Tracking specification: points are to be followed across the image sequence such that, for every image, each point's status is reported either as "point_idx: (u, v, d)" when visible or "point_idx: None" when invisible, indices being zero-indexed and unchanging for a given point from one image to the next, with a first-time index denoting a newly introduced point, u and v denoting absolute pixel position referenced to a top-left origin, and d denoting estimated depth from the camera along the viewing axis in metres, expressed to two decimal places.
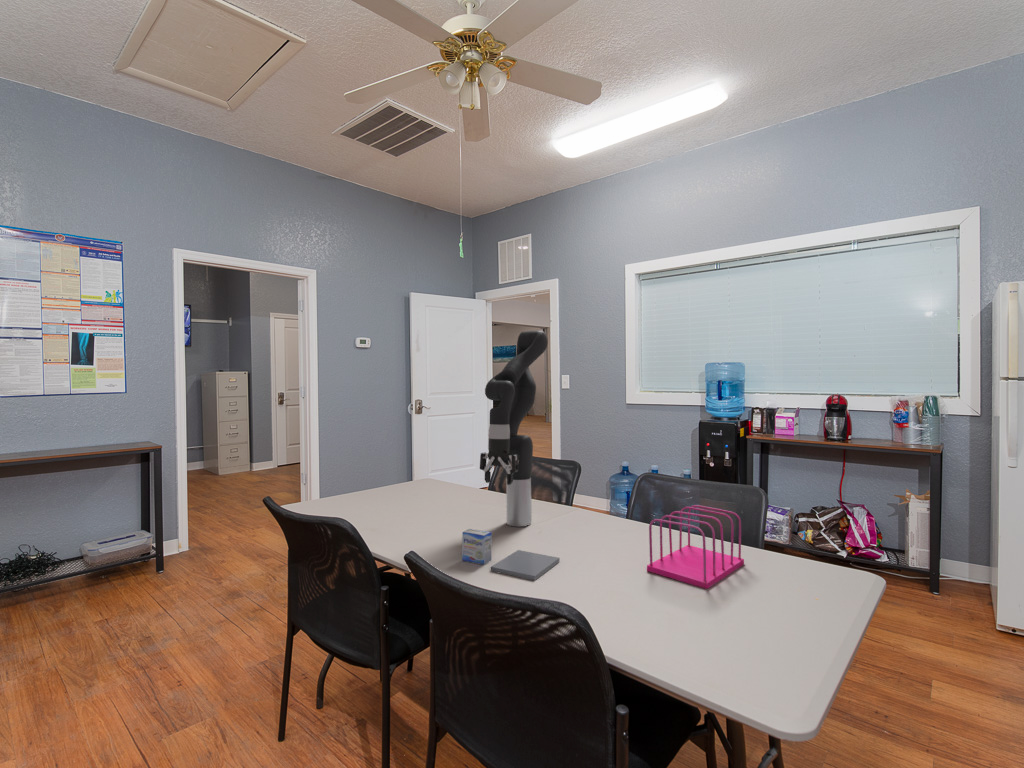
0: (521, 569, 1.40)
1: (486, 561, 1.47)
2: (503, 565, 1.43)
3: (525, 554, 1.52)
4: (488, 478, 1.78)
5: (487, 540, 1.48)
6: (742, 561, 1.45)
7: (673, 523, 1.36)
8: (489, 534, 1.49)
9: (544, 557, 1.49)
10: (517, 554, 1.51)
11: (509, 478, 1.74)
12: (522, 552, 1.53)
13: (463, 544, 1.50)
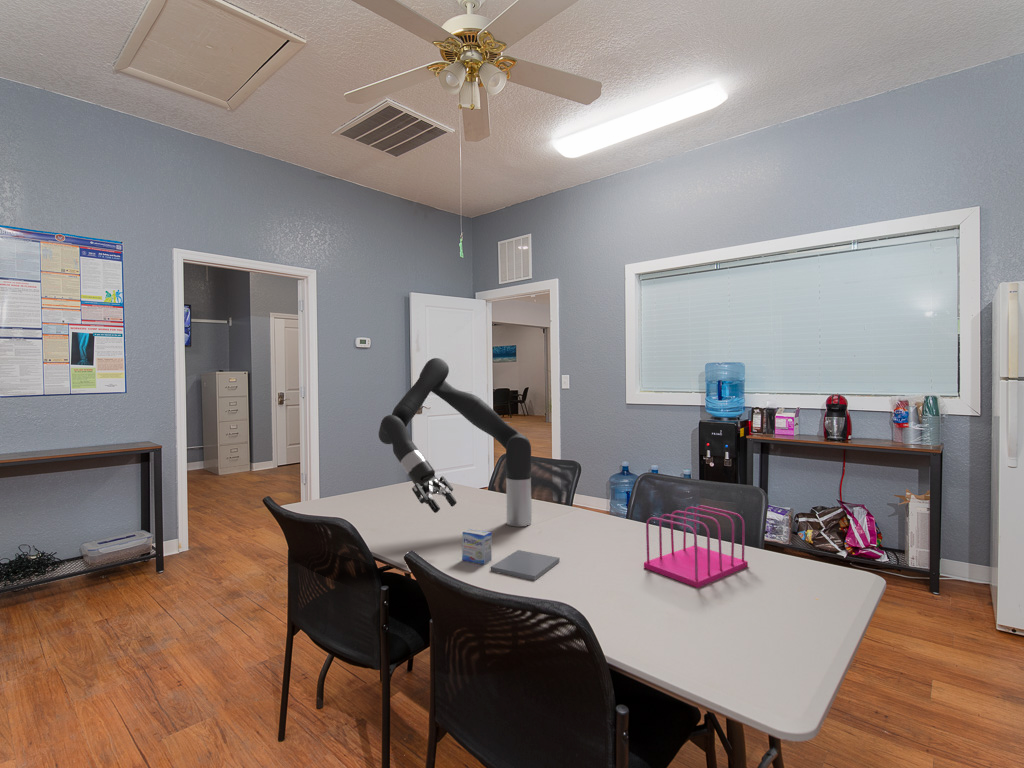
0: (521, 569, 1.40)
1: (486, 561, 1.47)
2: (503, 565, 1.43)
3: (525, 554, 1.52)
4: None
5: (487, 540, 1.48)
6: (745, 563, 1.44)
7: (667, 521, 1.37)
8: (489, 534, 1.49)
9: (544, 557, 1.49)
10: (517, 554, 1.51)
11: None
12: (522, 552, 1.53)
13: (463, 544, 1.50)
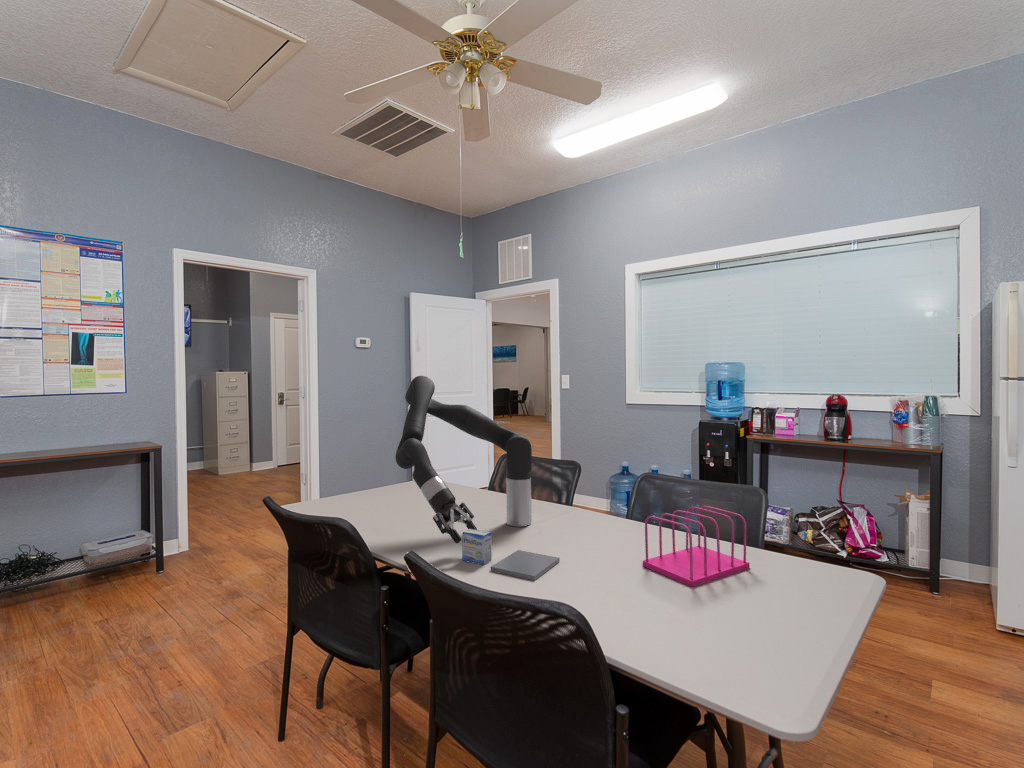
0: (521, 569, 1.40)
1: (486, 561, 1.47)
2: (503, 565, 1.43)
3: (525, 554, 1.52)
4: None
5: (487, 540, 1.48)
6: (746, 565, 1.42)
7: (664, 520, 1.38)
8: (489, 534, 1.49)
9: (544, 557, 1.49)
10: (517, 554, 1.51)
11: (473, 525, 1.56)
12: (522, 552, 1.53)
13: (463, 544, 1.50)
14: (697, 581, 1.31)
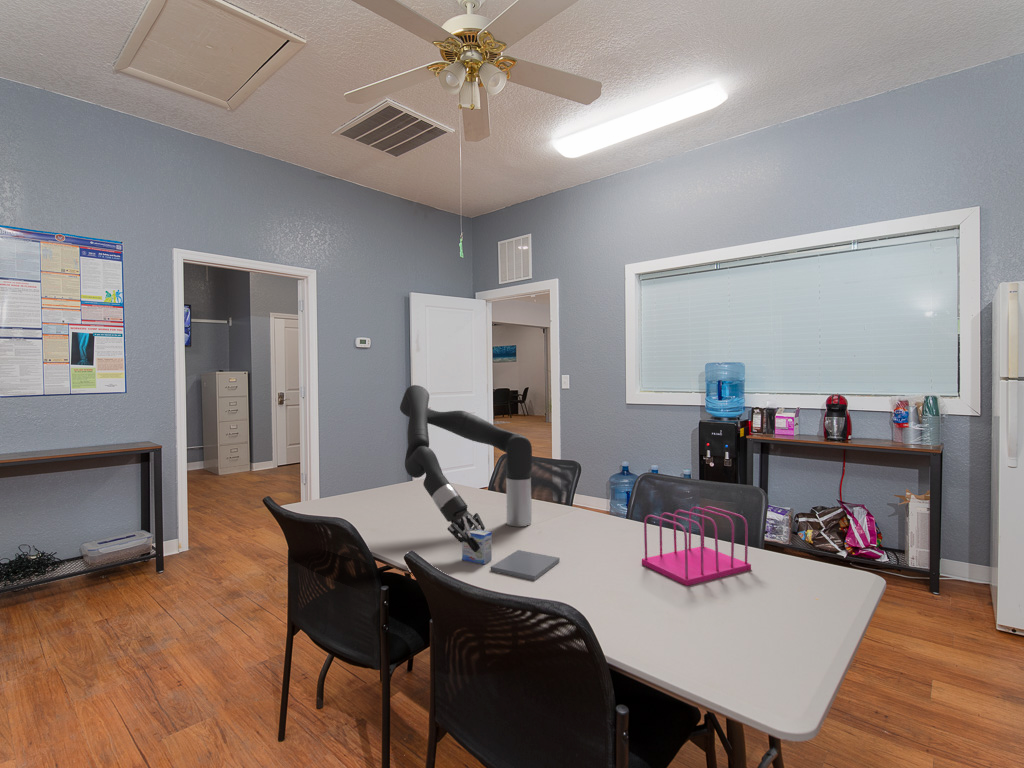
0: (521, 569, 1.40)
1: (486, 561, 1.47)
2: (503, 565, 1.43)
3: (525, 554, 1.52)
4: None
5: (487, 540, 1.48)
6: (748, 566, 1.41)
7: (662, 519, 1.40)
8: (489, 534, 1.49)
9: (544, 557, 1.49)
10: (517, 554, 1.51)
11: None
12: (522, 552, 1.53)
13: (463, 544, 1.50)
14: (692, 580, 1.32)
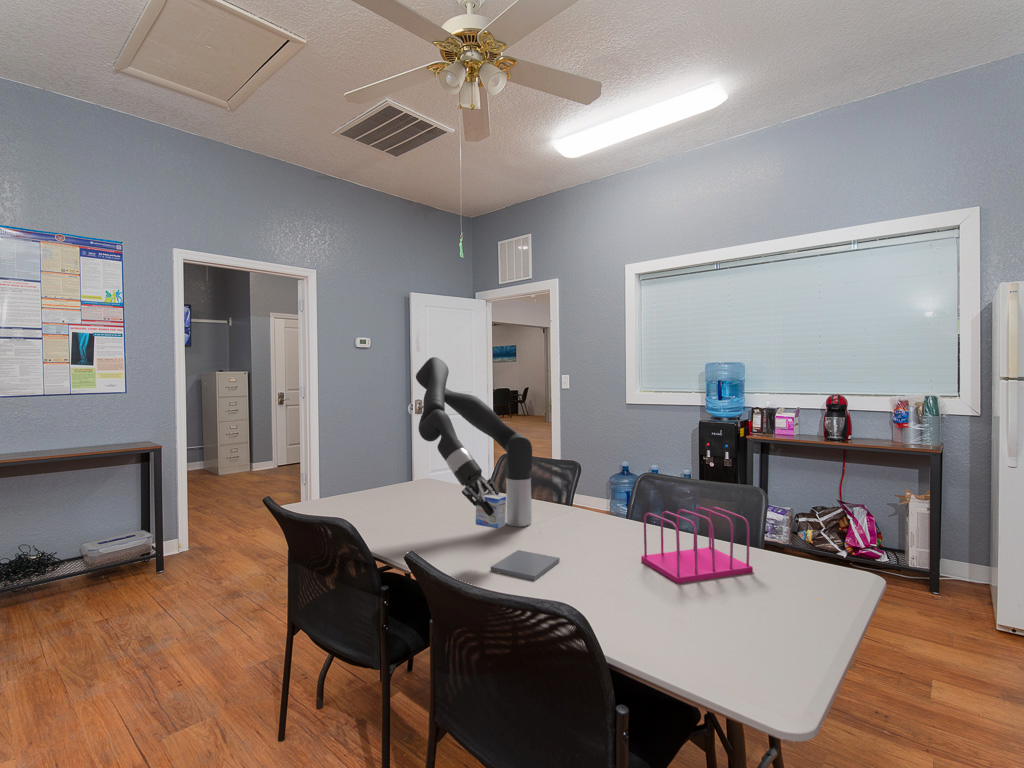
0: (521, 569, 1.40)
1: (500, 525, 1.46)
2: (503, 565, 1.43)
3: (525, 554, 1.52)
4: None
5: (502, 504, 1.46)
6: (749, 568, 1.40)
7: (658, 517, 1.42)
8: (503, 498, 1.47)
9: (544, 557, 1.49)
10: (517, 554, 1.51)
11: None
12: (522, 552, 1.53)
13: (477, 508, 1.48)
14: (684, 578, 1.33)
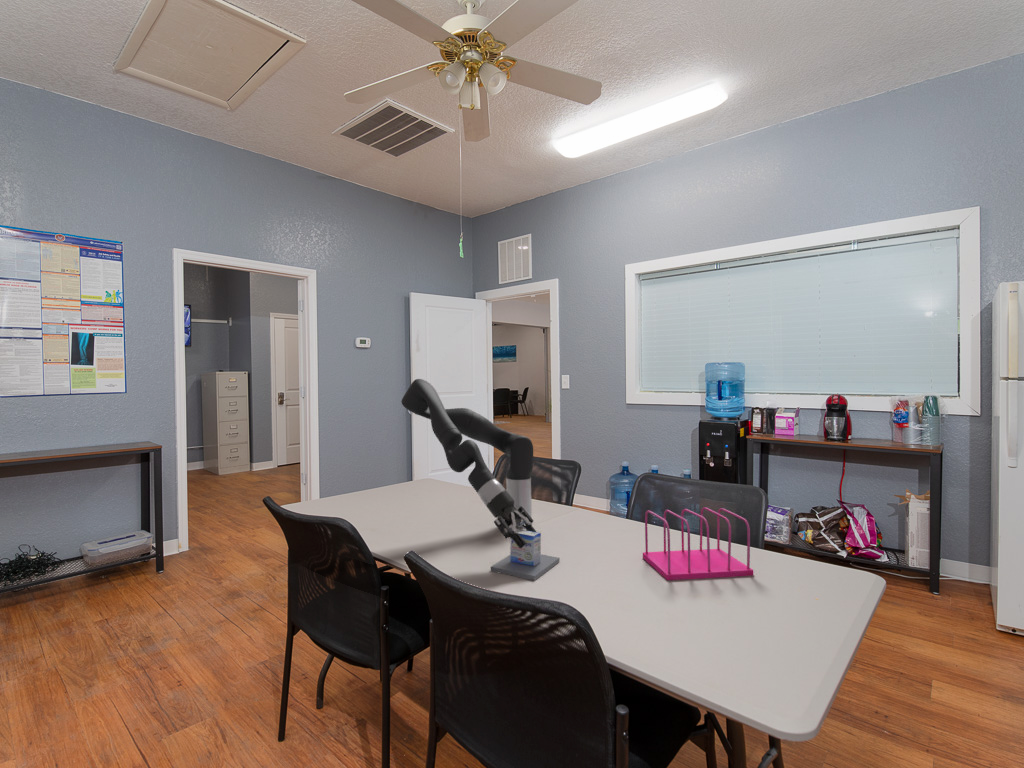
0: (521, 569, 1.40)
1: (535, 563, 1.42)
2: (503, 565, 1.43)
3: None
4: None
5: (537, 541, 1.43)
6: (749, 571, 1.38)
7: (654, 515, 1.44)
8: (538, 535, 1.44)
9: (544, 557, 1.49)
10: None
11: None
12: None
13: (511, 545, 1.45)
14: (674, 576, 1.35)
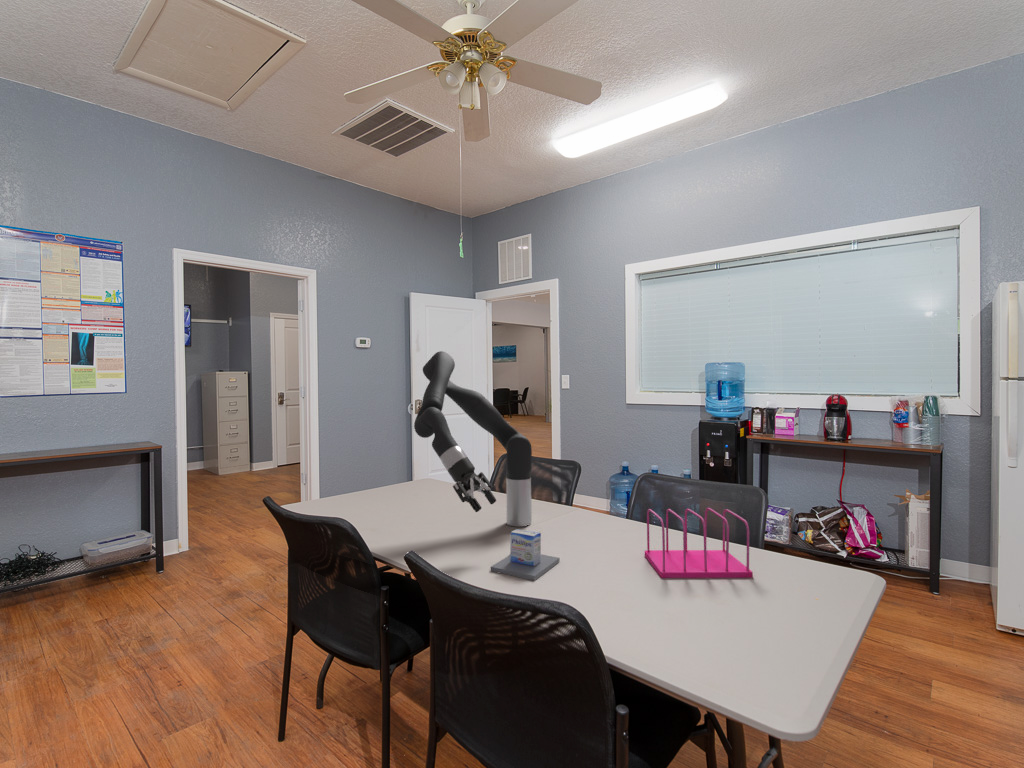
0: (521, 569, 1.40)
1: (535, 563, 1.42)
2: (503, 565, 1.43)
3: None
4: None
5: (537, 541, 1.43)
6: (748, 573, 1.36)
7: None
8: (538, 535, 1.44)
9: (544, 557, 1.49)
10: None
11: None
12: None
13: (511, 545, 1.45)
14: (669, 574, 1.36)
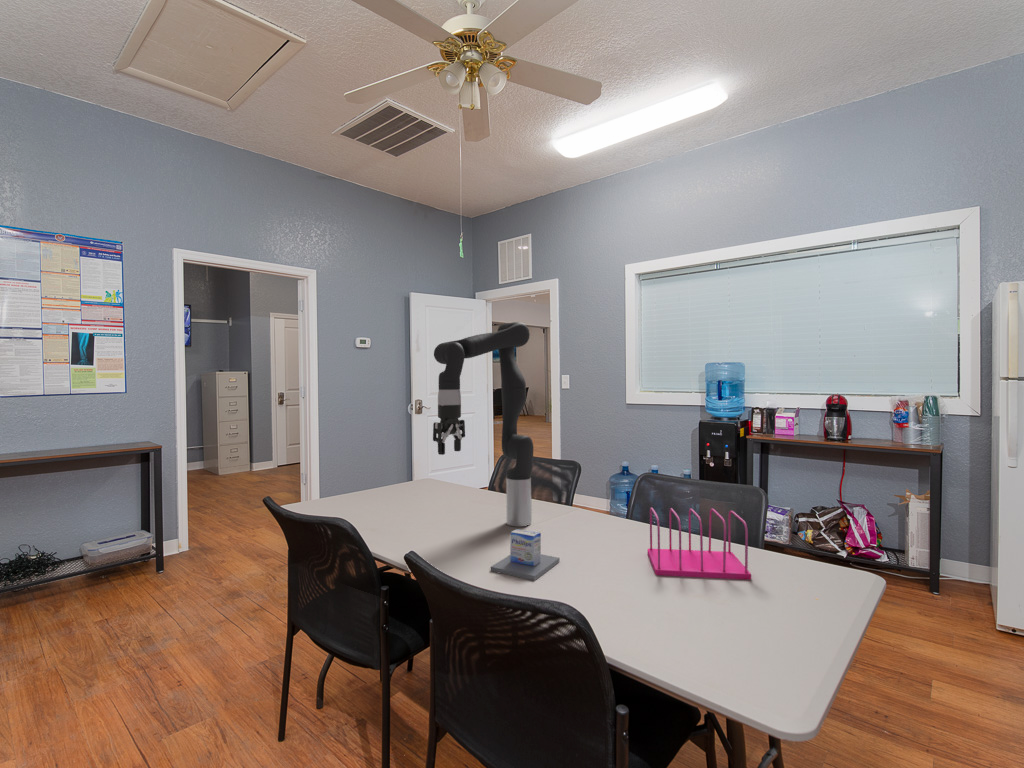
0: (521, 569, 1.40)
1: (535, 563, 1.42)
2: (503, 565, 1.43)
3: None
4: None
5: (537, 541, 1.43)
6: (745, 575, 1.35)
7: (653, 512, 1.47)
8: (538, 535, 1.44)
9: (544, 557, 1.49)
10: None
11: None
12: None
13: (511, 545, 1.45)
14: (663, 571, 1.38)
